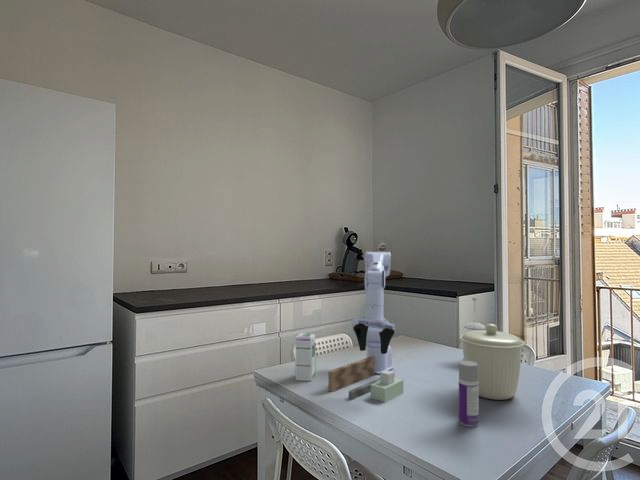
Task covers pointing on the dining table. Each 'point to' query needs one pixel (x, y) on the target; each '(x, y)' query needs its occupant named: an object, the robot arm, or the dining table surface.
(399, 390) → the mint block with knob
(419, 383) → the dining table surface
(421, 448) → the dining table surface
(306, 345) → the syrup box
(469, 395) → the container
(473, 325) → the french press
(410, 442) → the dining table surface
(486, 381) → the canister
